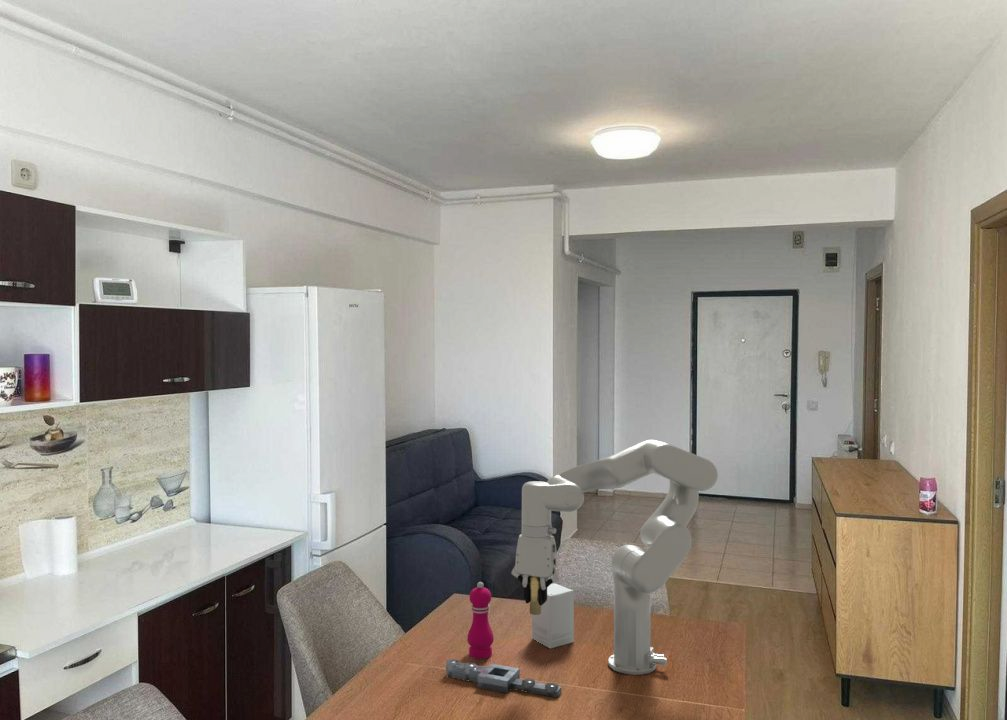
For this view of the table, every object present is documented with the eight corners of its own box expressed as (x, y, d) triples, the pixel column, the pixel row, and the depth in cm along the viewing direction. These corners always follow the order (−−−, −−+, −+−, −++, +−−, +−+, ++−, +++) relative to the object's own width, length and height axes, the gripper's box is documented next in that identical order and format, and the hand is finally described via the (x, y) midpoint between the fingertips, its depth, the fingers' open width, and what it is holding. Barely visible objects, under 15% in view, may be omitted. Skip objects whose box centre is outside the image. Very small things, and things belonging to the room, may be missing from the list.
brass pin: (543, 611, 198) (543, 572, 198) (538, 615, 195) (539, 576, 195) (532, 610, 199) (532, 571, 199) (527, 613, 197) (528, 574, 196)
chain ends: (564, 688, 191) (564, 674, 191) (553, 702, 184) (553, 687, 184) (453, 668, 203) (453, 655, 203) (439, 680, 196) (439, 666, 196)
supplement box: (575, 642, 221) (575, 590, 221) (550, 649, 216) (550, 596, 216) (555, 632, 228) (555, 582, 228) (530, 639, 223) (531, 587, 223)
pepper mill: (497, 651, 215) (497, 579, 214) (488, 661, 208) (488, 587, 207) (473, 647, 217) (472, 576, 217) (463, 657, 210) (463, 584, 210)
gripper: (571, 530, 197) (570, 602, 197) (512, 524, 204) (511, 594, 204) (561, 537, 190) (561, 611, 191) (500, 530, 197) (500, 602, 197)
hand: (535, 602), depth 197 cm, fingers closed on brass pin, 3 cm apart
